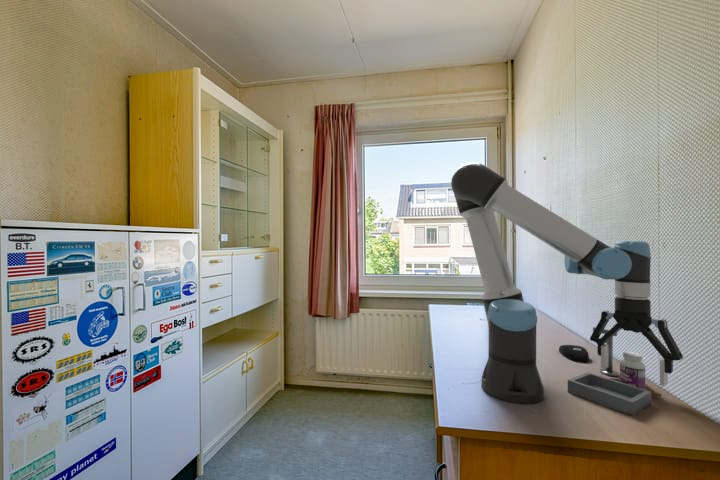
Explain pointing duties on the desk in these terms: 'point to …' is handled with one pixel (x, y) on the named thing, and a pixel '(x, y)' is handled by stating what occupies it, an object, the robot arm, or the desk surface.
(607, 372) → the t stake
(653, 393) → the collar
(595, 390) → the tray
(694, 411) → the desk surface
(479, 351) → the desk surface
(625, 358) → the pill bottle
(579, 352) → the computer mouse
